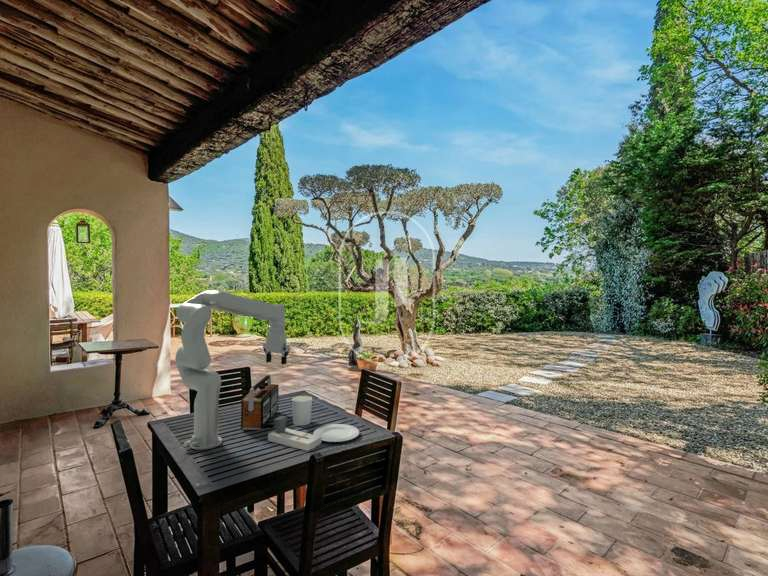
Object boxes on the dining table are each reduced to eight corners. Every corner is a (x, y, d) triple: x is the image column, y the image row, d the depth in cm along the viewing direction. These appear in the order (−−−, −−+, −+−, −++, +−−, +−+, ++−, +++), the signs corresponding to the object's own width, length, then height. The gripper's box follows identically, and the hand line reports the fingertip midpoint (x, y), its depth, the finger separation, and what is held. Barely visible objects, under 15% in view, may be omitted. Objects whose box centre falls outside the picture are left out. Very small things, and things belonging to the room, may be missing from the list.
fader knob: (279, 433, 175) (279, 420, 175) (273, 432, 177) (274, 418, 176) (286, 430, 180) (286, 416, 180) (281, 428, 181) (281, 415, 181)
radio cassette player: (261, 432, 185) (262, 389, 184) (239, 432, 185) (239, 389, 184) (279, 411, 214) (279, 374, 213) (259, 411, 214) (259, 373, 213)
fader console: (308, 451, 166) (308, 443, 165) (267, 440, 176) (268, 433, 175) (321, 443, 174) (321, 436, 173) (281, 433, 184) (282, 426, 183)
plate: (325, 449, 168) (325, 445, 168) (306, 433, 185) (306, 429, 185) (368, 439, 180) (368, 435, 180) (346, 424, 197) (346, 420, 197)
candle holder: (313, 425, 195) (314, 400, 195) (293, 427, 191) (293, 402, 191) (309, 418, 204) (310, 394, 204) (290, 420, 201) (290, 396, 200)
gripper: (258, 328, 202) (257, 362, 203) (285, 331, 195) (284, 366, 195) (268, 327, 209) (268, 360, 209) (295, 329, 202) (294, 363, 202)
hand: (276, 363), depth 202 cm, fingers open, 9 cm apart
